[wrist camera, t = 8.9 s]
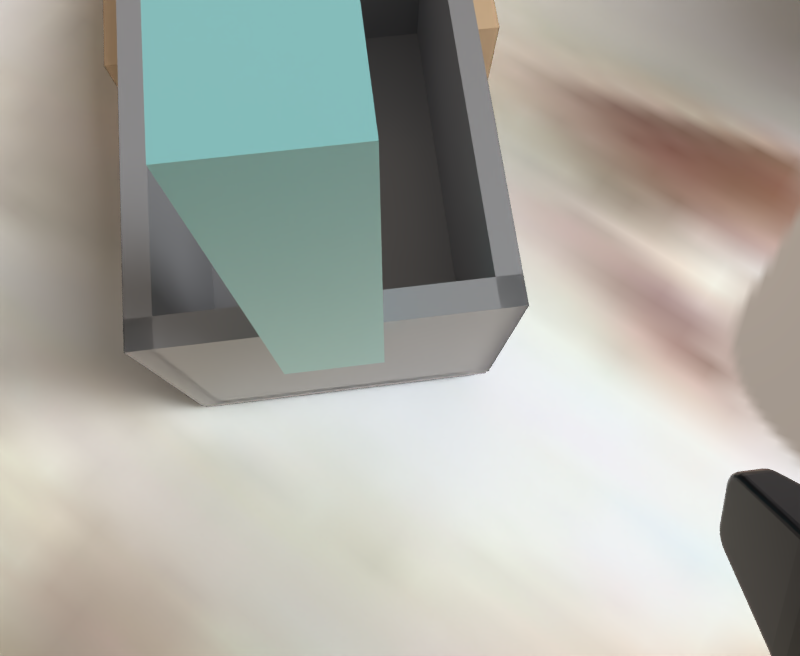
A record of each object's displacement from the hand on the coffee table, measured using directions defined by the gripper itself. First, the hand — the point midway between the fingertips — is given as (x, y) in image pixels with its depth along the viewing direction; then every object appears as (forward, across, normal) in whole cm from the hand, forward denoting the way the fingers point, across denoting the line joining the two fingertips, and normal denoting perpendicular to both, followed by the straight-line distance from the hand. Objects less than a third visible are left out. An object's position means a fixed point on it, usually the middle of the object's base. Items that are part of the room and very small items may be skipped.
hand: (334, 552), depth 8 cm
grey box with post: (+14, 0, 0) cm, 14 cm away
